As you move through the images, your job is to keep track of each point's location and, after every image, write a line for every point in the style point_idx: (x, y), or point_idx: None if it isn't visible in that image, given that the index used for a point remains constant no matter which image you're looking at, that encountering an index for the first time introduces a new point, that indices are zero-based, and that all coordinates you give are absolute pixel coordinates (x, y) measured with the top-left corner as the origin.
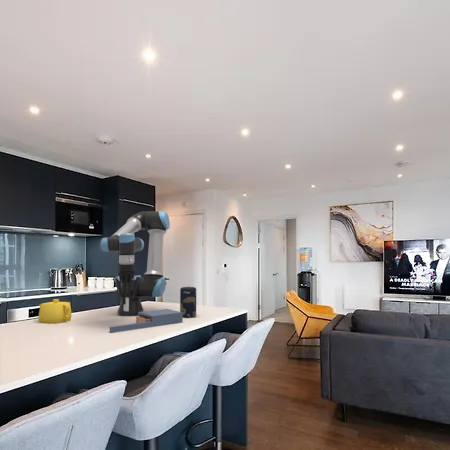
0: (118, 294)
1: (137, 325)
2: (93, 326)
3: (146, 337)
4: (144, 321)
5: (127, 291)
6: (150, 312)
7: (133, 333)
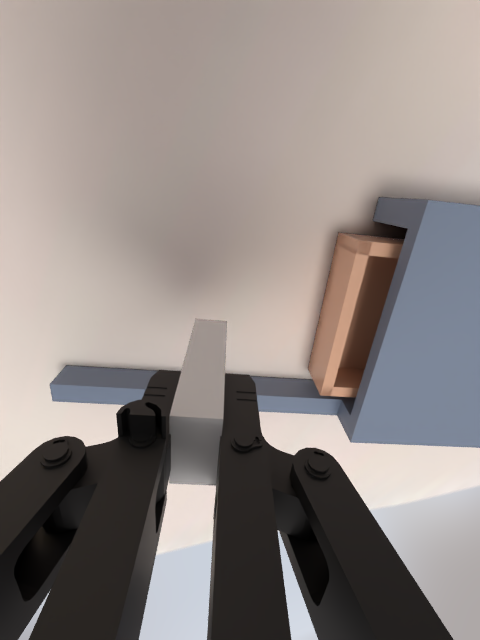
0: (10, 491)
1: None
2: (11, 70)
3: (170, 532)
4: (320, 365)
5: (213, 568)
6: (469, 307)
7: None
